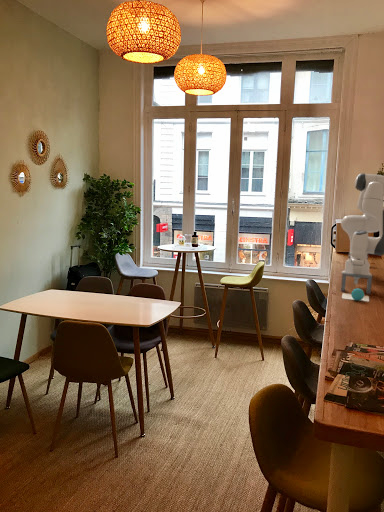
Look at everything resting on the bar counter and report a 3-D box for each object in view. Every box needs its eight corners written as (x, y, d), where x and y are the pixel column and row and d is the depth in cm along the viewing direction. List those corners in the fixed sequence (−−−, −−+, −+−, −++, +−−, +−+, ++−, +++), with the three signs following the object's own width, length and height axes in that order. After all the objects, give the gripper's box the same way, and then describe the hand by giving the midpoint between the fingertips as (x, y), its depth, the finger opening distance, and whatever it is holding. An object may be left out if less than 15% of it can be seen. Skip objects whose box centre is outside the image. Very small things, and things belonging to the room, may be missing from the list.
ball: (350, 301, 232) (351, 291, 235) (363, 303, 230) (364, 292, 233) (351, 296, 227) (351, 285, 230) (364, 297, 225) (364, 286, 228)
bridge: (341, 290, 253) (342, 272, 252) (370, 293, 248) (372, 275, 247) (340, 291, 250) (342, 273, 249) (370, 294, 245) (372, 276, 244)
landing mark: (342, 293, 244) (342, 293, 244) (368, 296, 240) (368, 295, 240) (341, 298, 232) (341, 298, 232) (369, 301, 228) (369, 301, 228)
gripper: (352, 257, 270) (350, 280, 272) (352, 261, 251) (349, 286, 253) (363, 258, 268) (361, 281, 270) (364, 262, 249) (361, 287, 251)
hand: (355, 283), depth 261 cm, fingers closed
